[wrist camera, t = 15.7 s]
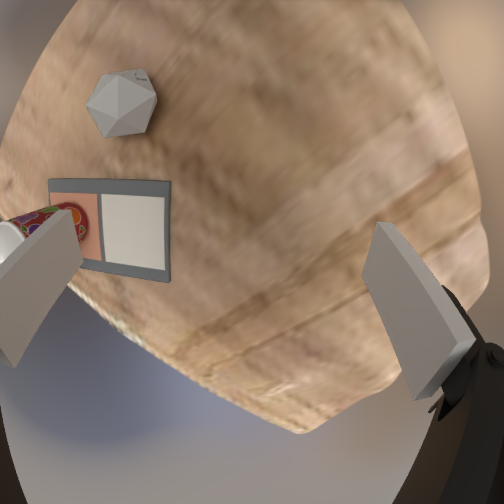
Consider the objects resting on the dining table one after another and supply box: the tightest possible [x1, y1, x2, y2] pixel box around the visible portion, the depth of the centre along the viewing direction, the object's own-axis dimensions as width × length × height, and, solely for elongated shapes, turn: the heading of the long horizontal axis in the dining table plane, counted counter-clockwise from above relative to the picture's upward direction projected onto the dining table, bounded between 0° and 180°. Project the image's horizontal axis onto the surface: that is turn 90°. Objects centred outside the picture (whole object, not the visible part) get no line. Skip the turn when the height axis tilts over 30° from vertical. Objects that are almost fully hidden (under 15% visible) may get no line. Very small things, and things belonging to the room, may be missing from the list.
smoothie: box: [0, 202, 88, 264], centre depth 28 cm, size 8×8×20 cm
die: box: [86, 68, 157, 138], centre depth 28 cm, size 8×9×10 cm
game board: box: [48, 178, 171, 283], centre depth 38 cm, size 14×21×1 cm, turn 85°
